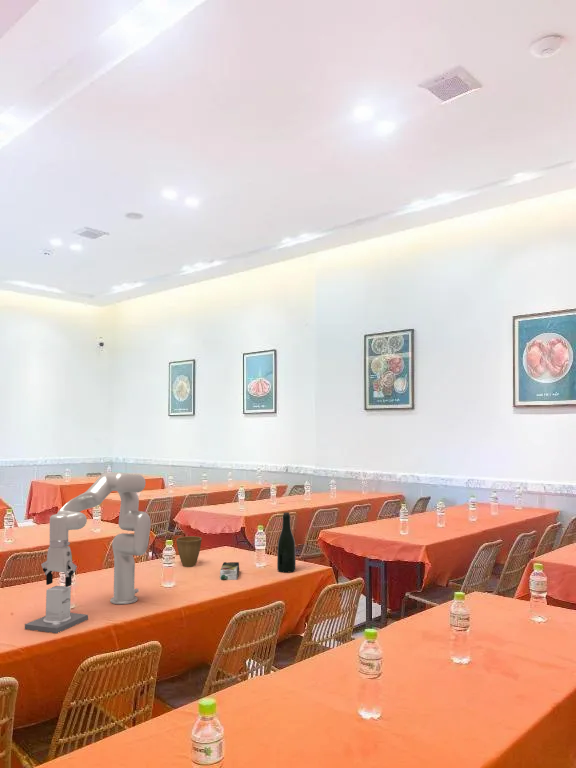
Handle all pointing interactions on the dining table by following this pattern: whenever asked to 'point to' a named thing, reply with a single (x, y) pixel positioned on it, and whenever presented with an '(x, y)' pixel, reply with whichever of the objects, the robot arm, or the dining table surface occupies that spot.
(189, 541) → the plant pot
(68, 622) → the mount plate
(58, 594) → the supplement box
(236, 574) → the juice carton
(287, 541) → the beer bottle
